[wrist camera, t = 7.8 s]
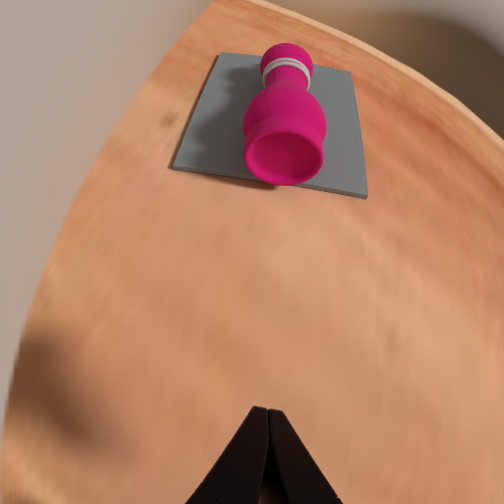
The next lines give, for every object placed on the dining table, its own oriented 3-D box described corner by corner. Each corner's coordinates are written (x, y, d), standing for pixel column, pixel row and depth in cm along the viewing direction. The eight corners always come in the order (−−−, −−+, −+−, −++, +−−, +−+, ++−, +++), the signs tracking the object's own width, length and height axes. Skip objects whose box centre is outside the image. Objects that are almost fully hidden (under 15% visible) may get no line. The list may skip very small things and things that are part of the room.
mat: (365, 199, 29) (368, 195, 28) (173, 170, 29) (172, 165, 28) (349, 75, 38) (350, 72, 38) (220, 55, 39) (220, 52, 38)
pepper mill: (223, 172, 26) (248, 63, 36) (300, 200, 28) (298, 84, 38) (260, 109, 20) (273, 18, 30) (348, 149, 22) (327, 44, 32)
